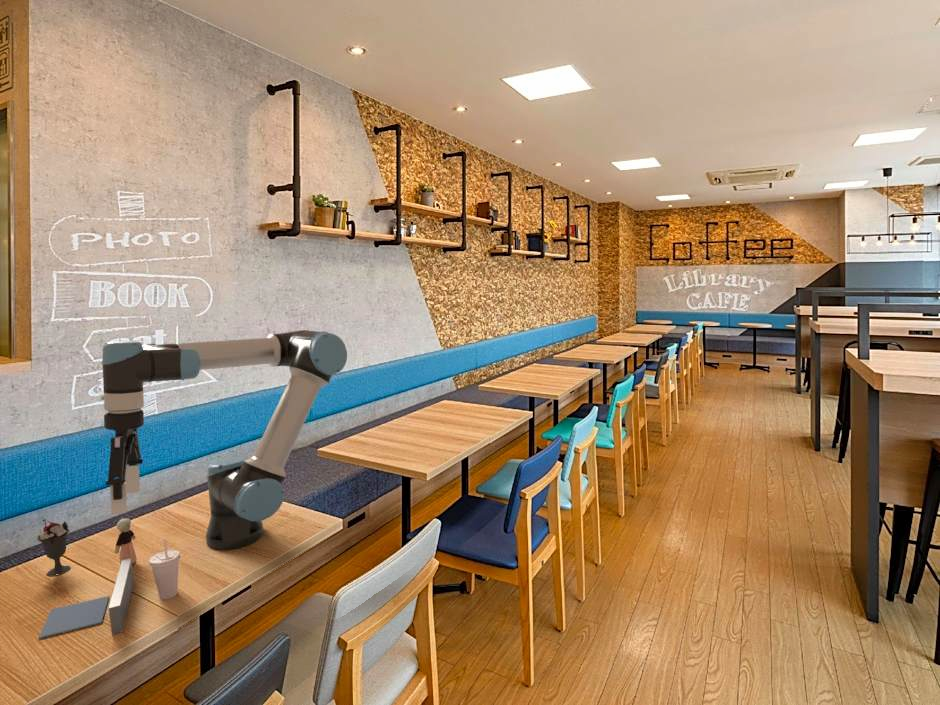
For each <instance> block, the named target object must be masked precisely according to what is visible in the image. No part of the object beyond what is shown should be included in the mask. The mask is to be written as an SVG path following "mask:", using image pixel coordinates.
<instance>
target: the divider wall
mask: <svg viewBox="0 0 940 705" xmlns="http://www.w3.org/2000/svg"><path fill="white" fill-rule="evenodd" d="M119 565H120V564H119ZM119 568H120V569H119ZM119 568H118V569H119V570H118V573H117V576H116V580H115V584H114V587H113V591H112V595H111V597H110V598H111V599H110V602H109V605H108V615H109V623H110V631H111V635H114V634H113V633H116V634H119V633H118V632H120V633H122V632H121V631H123V632H124V630H123V628H125V625H126V624H125V623H126V620H125V619H127V616H126V614H128V611H127V610H129V606H130V602H129V601H131V596H132V592H133V586H134V582H135V578H134V572H133V565H132V560H131V559H126V560H122V561H121V565H120V566H119ZM128 605H129V606H128ZM124 624H125V625H124Z"/></svg>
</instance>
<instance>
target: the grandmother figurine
mask: <svg viewBox="0 0 940 705" xmlns="http://www.w3.org/2000/svg"><path fill="white" fill-rule="evenodd" d="M131 524H132V521H131V519H129V518H121V519H119V521H118V522H117V523H116V525H115V526H116V529H117V530H118V531H119V532H120V533H119V535H118V538H117V540H116V543H115V549H114V553H115V554H119V565H121V561H122V560H126V559H131V560H132V566H133V565H135V564H136V563H137V560H138V558H137V555H136V554H137V553H136V551H135V548H134V544H133V541H134V540H135V539H136V535H135V533H134V532H133V530H132V529H131ZM118 569H120V567H118Z"/></svg>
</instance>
